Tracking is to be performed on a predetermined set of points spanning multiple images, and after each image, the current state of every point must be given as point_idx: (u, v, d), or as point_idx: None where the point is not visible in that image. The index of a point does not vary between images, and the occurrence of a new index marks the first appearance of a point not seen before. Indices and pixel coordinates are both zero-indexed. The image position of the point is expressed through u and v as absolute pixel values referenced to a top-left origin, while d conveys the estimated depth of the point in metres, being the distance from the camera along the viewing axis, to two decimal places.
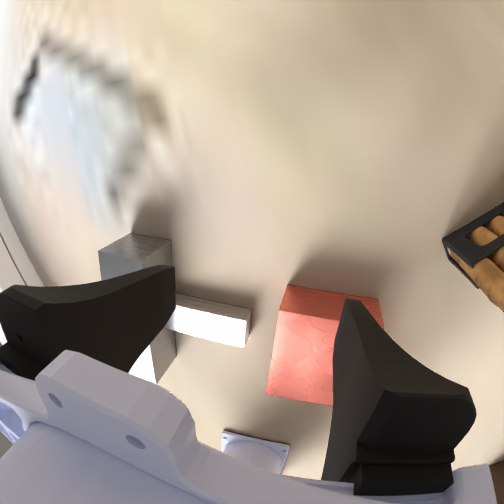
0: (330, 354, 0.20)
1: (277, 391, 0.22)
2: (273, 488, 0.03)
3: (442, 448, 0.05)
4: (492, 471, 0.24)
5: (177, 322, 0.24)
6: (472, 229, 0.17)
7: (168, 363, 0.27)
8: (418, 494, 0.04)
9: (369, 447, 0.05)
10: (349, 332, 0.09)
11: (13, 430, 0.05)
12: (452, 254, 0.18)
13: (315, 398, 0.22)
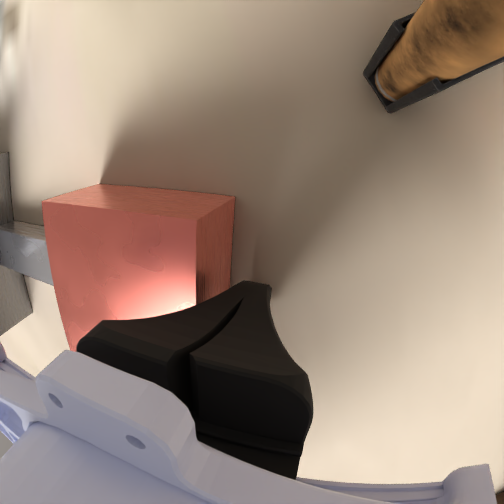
0: (119, 286, 0.10)
1: None
2: (273, 488, 0.03)
3: (283, 437, 0.05)
4: (497, 502, 0.14)
5: (7, 254, 0.15)
6: None
7: (16, 317, 0.17)
8: None
9: (199, 416, 0.06)
10: None
11: (13, 430, 0.05)
12: (382, 81, 0.08)
13: None
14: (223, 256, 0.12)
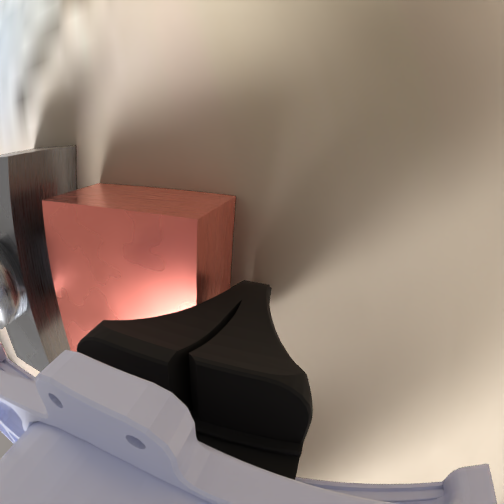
0: (119, 285, 0.10)
1: None
2: (273, 488, 0.03)
3: (282, 436, 0.05)
4: None
5: None
6: None
7: None
8: None
9: (198, 416, 0.06)
10: None
11: (13, 430, 0.05)
12: None
13: None
14: (224, 255, 0.12)
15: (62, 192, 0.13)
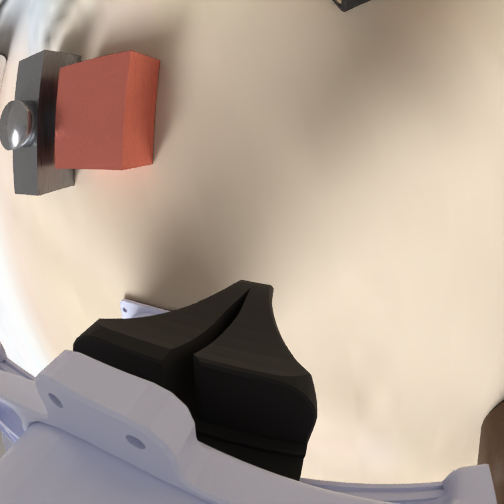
0: (92, 95, 0.17)
1: (61, 161, 0.19)
2: (273, 488, 0.03)
3: (287, 437, 0.05)
4: None
5: None
6: None
7: (60, 183, 0.22)
8: None
9: (202, 417, 0.06)
10: None
11: (13, 430, 0.05)
12: None
13: (88, 160, 0.18)
14: (149, 85, 0.18)
15: None
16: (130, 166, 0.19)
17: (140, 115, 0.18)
